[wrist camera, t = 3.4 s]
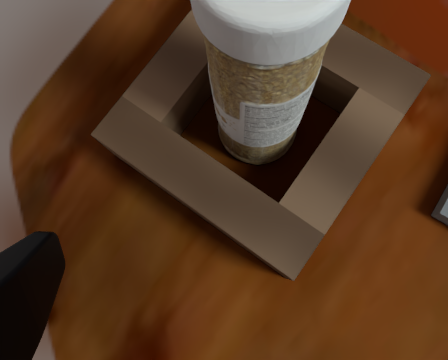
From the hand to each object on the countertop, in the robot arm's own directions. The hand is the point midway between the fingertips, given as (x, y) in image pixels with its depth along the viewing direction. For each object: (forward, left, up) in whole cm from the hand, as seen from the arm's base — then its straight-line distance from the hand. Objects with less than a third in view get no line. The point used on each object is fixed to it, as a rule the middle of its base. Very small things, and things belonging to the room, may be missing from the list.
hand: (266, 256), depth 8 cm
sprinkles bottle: (+5, +6, -13) cm, 15 cm away
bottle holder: (+5, +6, -13) cm, 15 cm away
